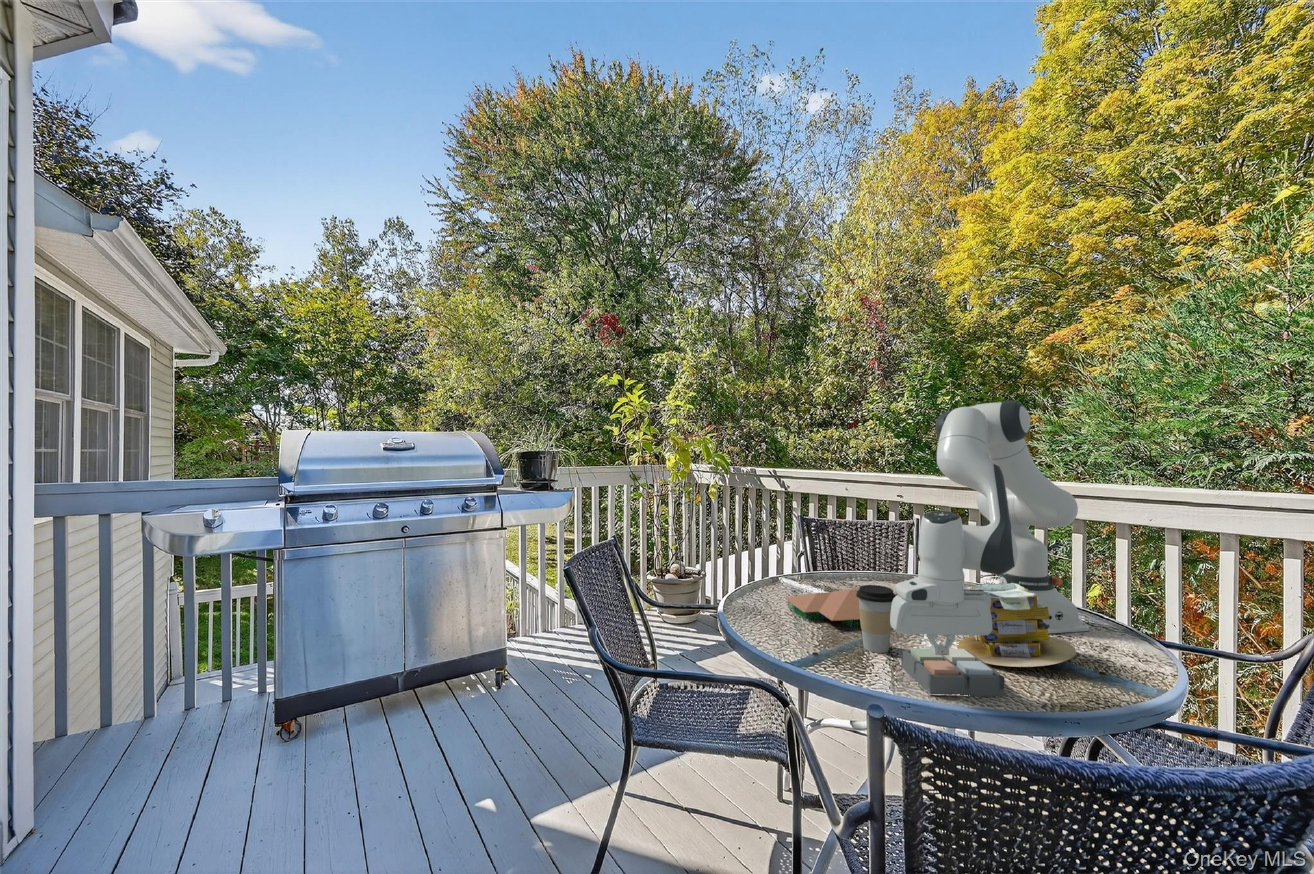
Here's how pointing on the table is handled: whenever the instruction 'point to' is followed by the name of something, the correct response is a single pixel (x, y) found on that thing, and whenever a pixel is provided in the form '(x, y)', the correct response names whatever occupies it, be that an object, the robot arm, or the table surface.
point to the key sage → (925, 654)
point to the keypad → (952, 679)
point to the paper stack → (1016, 631)
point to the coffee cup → (875, 616)
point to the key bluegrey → (974, 668)
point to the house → (828, 605)
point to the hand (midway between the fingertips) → (940, 654)
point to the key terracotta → (940, 667)
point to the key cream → (959, 655)
